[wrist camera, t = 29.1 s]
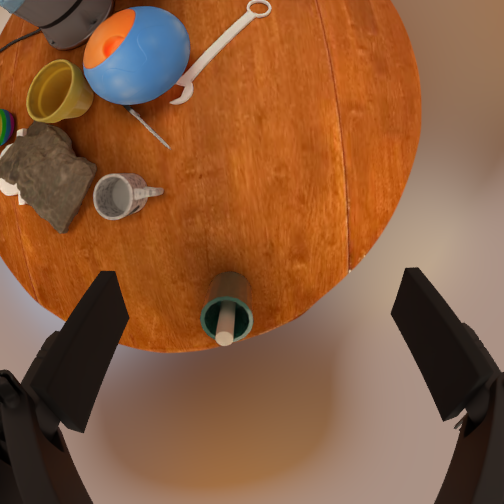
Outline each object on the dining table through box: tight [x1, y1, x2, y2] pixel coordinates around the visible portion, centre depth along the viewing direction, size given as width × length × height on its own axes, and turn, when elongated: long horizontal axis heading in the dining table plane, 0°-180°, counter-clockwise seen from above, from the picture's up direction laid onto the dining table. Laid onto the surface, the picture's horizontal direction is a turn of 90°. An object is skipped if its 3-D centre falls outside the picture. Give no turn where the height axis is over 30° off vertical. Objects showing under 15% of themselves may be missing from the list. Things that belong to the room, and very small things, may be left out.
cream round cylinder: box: [215, 300, 236, 346], centre depth 40 cm, size 2×2×14 cm
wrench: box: [170, 0, 271, 105], centre depth 36 cm, size 25×1×5 cm
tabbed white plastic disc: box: [0, 128, 27, 205], centre depth 38 cm, size 15×8×11 cm
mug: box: [93, 173, 164, 220], centre depth 39 cm, size 10×7×7 cm, turn 91°
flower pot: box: [26, 59, 94, 123], centre depth 33 cm, size 10×10×10 cm
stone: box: [0, 120, 97, 234], centre depth 37 cm, size 21×10×15 cm
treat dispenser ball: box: [83, 6, 190, 105], centre depth 30 cm, size 16×15×15 cm
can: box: [200, 272, 254, 342], centre depth 43 cm, size 7×7×10 cm
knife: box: [122, 105, 170, 149], centre depth 39 cm, size 15×1×2 cm, turn 44°
